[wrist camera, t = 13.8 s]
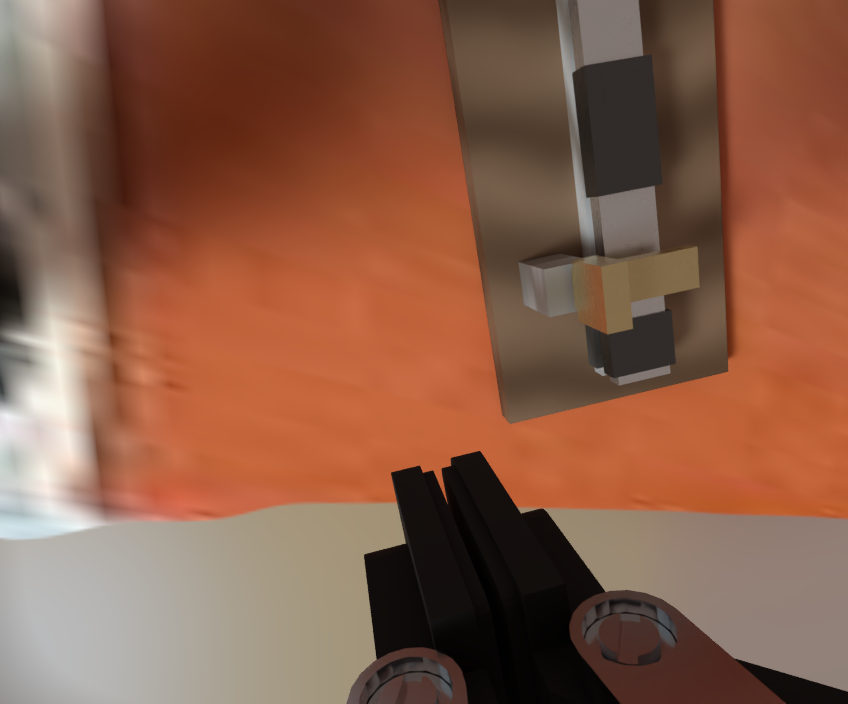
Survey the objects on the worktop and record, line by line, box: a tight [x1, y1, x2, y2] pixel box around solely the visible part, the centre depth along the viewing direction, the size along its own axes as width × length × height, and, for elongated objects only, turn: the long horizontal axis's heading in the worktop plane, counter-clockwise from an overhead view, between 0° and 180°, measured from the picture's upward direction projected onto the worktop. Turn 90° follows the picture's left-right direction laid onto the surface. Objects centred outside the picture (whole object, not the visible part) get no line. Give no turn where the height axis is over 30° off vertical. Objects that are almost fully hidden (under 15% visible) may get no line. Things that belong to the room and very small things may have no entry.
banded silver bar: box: [568, 0, 676, 385], centre depth 29 cm, size 26×4×1 cm, turn 10°
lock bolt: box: [571, 245, 700, 334], centre depth 27 cm, size 6×3×4 cm, turn 100°
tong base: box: [439, 0, 728, 424], centre depth 30 cm, size 31×14×6 cm, turn 10°
